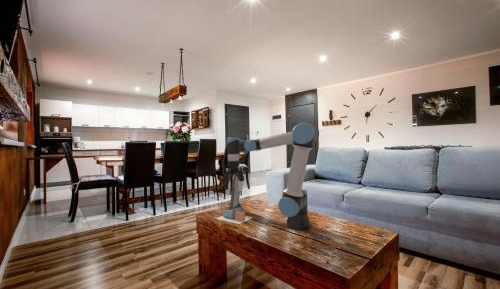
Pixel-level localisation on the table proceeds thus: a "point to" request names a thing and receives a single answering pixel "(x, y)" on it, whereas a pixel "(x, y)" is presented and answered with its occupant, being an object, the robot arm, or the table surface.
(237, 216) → the fence panel
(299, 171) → the robot arm
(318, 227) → the table surface
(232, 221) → the card
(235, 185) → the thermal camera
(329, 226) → the table surface
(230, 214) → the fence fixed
